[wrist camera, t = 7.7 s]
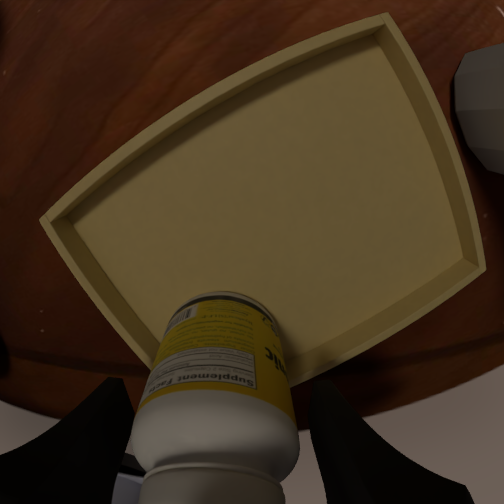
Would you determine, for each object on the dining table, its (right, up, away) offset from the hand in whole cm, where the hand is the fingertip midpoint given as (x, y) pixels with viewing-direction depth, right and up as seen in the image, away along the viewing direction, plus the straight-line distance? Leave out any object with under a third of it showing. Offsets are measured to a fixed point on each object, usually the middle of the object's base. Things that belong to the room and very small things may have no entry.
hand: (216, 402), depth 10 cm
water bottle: (+15, +14, +1) cm, 20 cm away
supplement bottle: (0, +2, +4) cm, 5 cm away
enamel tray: (+3, +6, +3) cm, 8 cm away
